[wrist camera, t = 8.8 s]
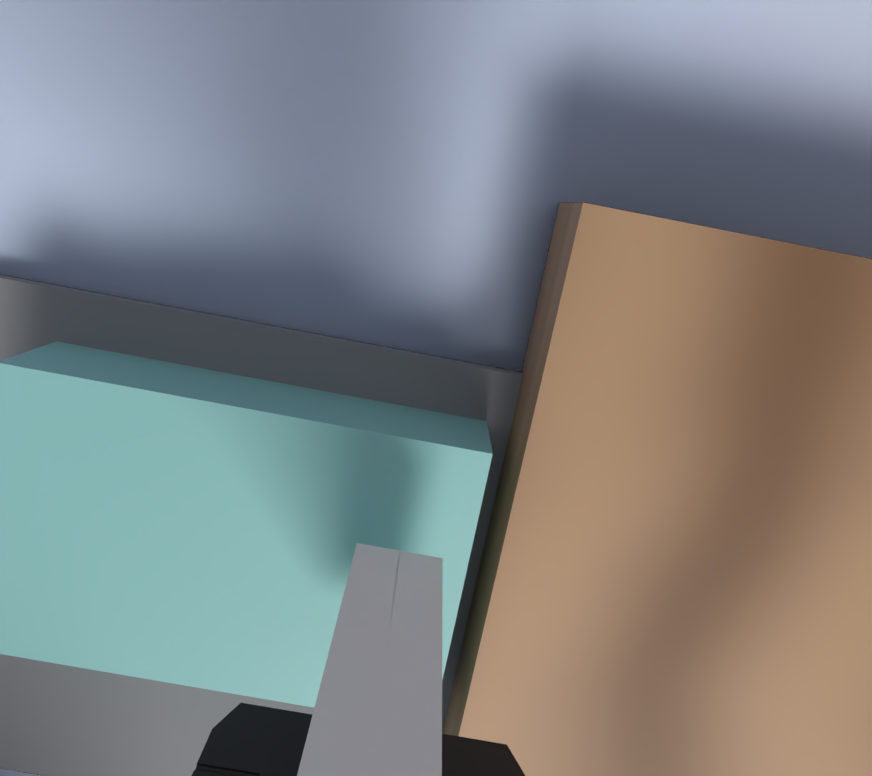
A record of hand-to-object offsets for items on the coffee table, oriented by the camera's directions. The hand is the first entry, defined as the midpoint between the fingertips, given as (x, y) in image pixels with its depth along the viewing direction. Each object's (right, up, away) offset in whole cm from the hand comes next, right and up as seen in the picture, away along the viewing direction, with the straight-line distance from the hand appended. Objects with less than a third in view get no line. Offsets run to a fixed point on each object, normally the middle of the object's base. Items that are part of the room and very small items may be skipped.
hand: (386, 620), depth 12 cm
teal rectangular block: (-3, +1, +3) cm, 5 cm away
